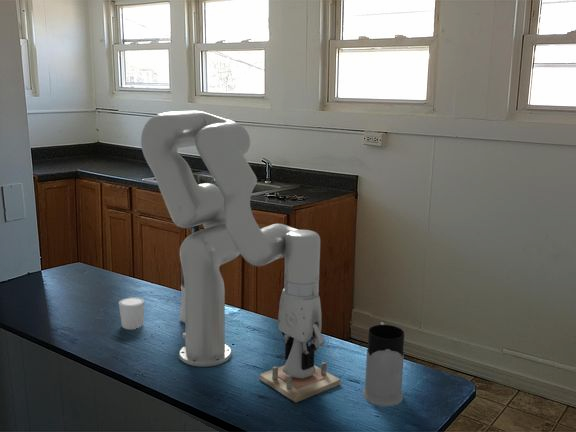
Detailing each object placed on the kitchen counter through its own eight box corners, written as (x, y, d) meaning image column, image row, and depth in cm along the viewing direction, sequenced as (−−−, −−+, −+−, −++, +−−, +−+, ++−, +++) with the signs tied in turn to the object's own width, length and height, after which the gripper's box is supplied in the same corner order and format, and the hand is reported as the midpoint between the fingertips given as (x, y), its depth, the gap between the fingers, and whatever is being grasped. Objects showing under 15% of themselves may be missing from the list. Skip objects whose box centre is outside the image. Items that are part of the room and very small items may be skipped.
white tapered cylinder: (127, 332, 163) (126, 307, 162) (115, 324, 168) (114, 300, 167) (150, 326, 168) (149, 301, 166) (138, 318, 173) (137, 295, 171)
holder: (363, 405, 129) (367, 339, 126) (359, 373, 143) (362, 313, 140) (405, 407, 129) (410, 341, 126) (397, 375, 143) (401, 314, 140)
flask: (295, 361, 143) (296, 321, 141) (321, 370, 139) (322, 329, 137) (276, 372, 138) (277, 331, 135) (303, 382, 133) (304, 339, 131)
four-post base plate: (259, 379, 140) (259, 362, 139) (302, 363, 148) (303, 348, 147) (295, 402, 130) (296, 385, 129) (340, 384, 138) (340, 368, 137)
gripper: (264, 279, 138) (263, 354, 142) (314, 301, 125) (311, 383, 129) (290, 273, 143) (288, 345, 147) (341, 294, 130) (337, 373, 134)
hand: (299, 362), depth 138 cm, fingers open, 5 cm apart
